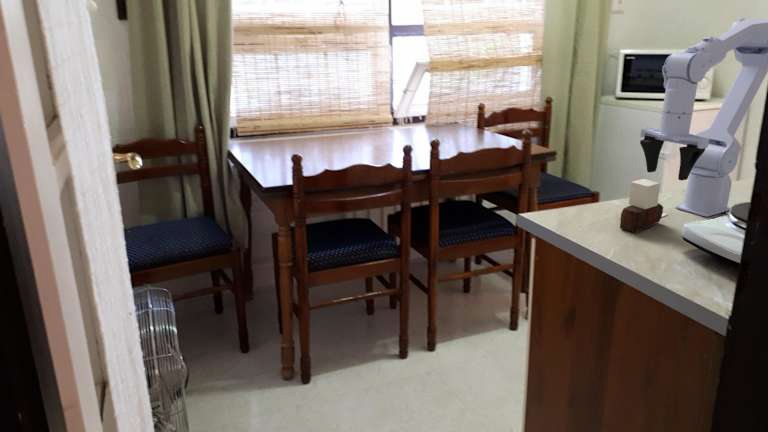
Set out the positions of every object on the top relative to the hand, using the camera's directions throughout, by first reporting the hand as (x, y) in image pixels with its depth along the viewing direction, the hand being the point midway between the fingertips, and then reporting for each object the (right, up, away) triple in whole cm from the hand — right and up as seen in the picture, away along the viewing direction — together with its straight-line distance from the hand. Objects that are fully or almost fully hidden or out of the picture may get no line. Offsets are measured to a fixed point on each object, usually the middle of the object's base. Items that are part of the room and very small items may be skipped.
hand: (666, 175), depth 127 cm
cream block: (-6, -6, -1) cm, 9 cm away
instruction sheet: (-2, -9, +7) cm, 11 cm away
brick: (-5, -11, 0) cm, 12 cm away
